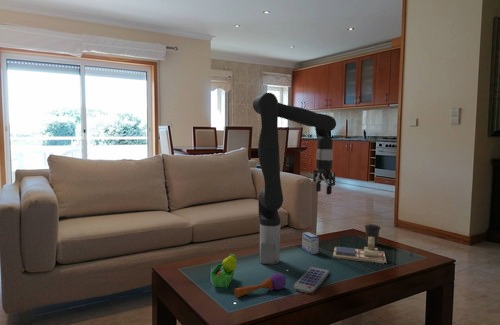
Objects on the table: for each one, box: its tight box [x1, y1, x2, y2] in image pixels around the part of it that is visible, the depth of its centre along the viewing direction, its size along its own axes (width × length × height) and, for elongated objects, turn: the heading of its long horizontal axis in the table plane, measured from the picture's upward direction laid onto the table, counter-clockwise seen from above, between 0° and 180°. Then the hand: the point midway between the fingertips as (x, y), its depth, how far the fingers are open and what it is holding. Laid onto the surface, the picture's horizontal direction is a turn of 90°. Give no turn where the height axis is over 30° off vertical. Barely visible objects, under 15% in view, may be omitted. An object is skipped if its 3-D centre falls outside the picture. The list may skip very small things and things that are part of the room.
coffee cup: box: [364, 223, 381, 246], centre depth 188 cm, size 8×8×10 cm
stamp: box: [363, 237, 379, 258], centre depth 168 cm, size 6×6×8 cm
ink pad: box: [335, 246, 356, 256], centre depth 171 cm, size 9×9×1 cm
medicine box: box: [301, 231, 319, 255], centre depth 175 cm, size 8×4×9 cm, turn 25°
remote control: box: [293, 266, 330, 292], centre depth 140 cm, size 8×23×2 cm, turn 152°
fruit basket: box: [210, 253, 238, 288], centre depth 137 cm, size 11×9×11 cm
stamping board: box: [332, 246, 387, 264], centre depth 170 cm, size 14×24×1 cm, turn 73°
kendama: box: [233, 272, 287, 299], centre depth 130 cm, size 6×6×20 cm
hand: (323, 192), depth 168 cm, fingers open, 8 cm apart
